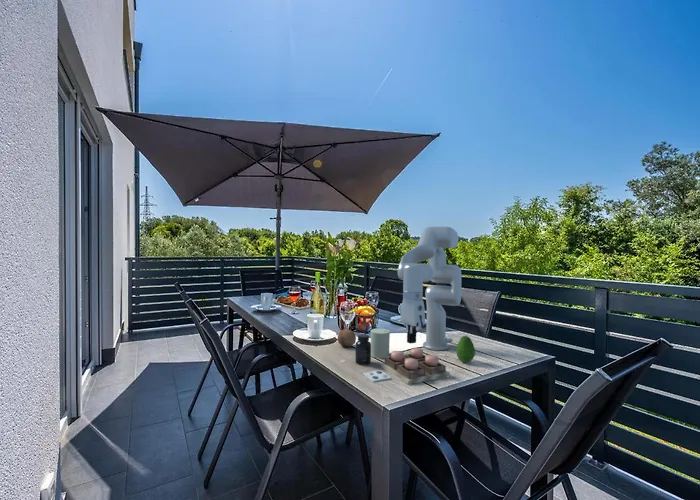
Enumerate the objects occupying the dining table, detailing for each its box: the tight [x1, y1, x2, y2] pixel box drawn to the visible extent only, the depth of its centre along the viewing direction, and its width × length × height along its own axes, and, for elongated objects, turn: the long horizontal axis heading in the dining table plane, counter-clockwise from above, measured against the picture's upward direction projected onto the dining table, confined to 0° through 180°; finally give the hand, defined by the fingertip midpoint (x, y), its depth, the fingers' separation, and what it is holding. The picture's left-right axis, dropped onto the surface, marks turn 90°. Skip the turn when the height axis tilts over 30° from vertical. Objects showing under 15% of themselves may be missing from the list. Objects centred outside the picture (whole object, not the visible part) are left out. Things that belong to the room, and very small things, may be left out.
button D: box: [405, 358, 418, 369], centre depth 134 cm, size 5×5×3 cm
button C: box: [390, 350, 405, 361], centre depth 143 cm, size 5×5×3 cm
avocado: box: [455, 335, 476, 364], centre depth 152 cm, size 8×8×12 cm
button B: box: [425, 354, 439, 366], centre depth 138 cm, size 5×5×3 cm
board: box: [380, 353, 450, 385], centre depth 140 cm, size 20×20×4 cm
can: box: [370, 327, 391, 359], centre depth 160 cm, size 9×9×12 cm
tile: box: [363, 369, 392, 383], centre depth 134 cm, size 8×8×1 cm
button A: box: [410, 347, 424, 358], centre depth 147 cm, size 5×5×3 cm
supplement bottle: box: [354, 333, 372, 366], centre depth 149 cm, size 7×7×12 cm
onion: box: [337, 327, 357, 348], centre depth 172 cm, size 10×9×10 cm
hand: (411, 342), depth 133 cm, fingers closed
